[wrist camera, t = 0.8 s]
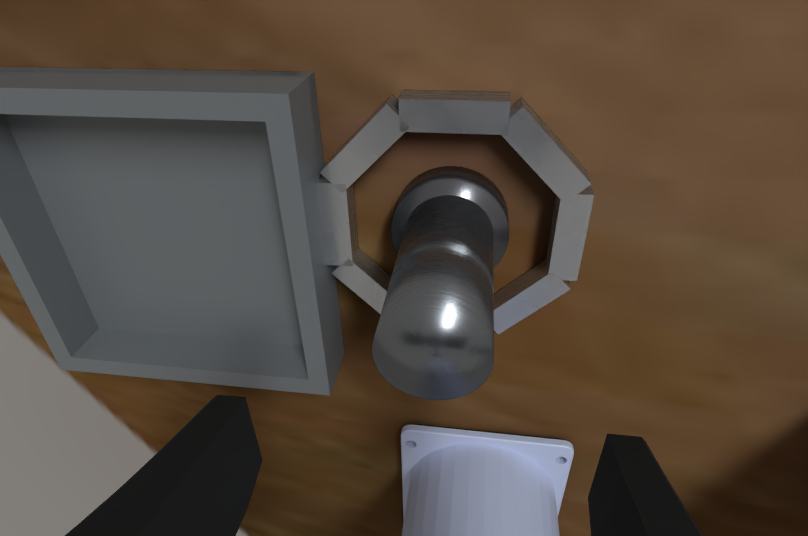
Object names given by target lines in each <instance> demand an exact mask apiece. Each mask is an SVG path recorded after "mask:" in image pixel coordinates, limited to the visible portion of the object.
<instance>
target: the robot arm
mask: <svg viewBox="0 0 808 536" xmlns="http://www.w3.org/2000/svg"><path fill="white" fill-rule="evenodd" d="M573 455H574V450H573V445H572V444H571V443H570V442H568V441H565V440H558V439H548V438H539V437H529V436H519V435H509V434H500V433H490V432H480V431H470V430H461V429H451V428H441V427H431V426H422V425H406V426H404V427H403V428H402V431H401V459H402V489H403V519H404V523H403V530H402V536H560V535H559V526H558V514H559V510H560V506H561V502H562V498H563V494H564V490H565V486H566V483H567V479H568V475H569V471H570V467H571V463H572V459H573ZM261 462H262V457H261V454H260V450H259V446H258V442H257V439H256V435H255V431H254V428H253V424H252V420H251V417H250V413H249V409H248V405H247V402H246V398H245V397H235V396H225V395H217V396H216V397H214V398H213V399H212V400H211V401H210V402H209V403H208V404H207V405H206V406H205V407H204V408H203V409H202V410H201V411H200V412H199V413H198V414H197V415H196V416H195V417H194V418H193V419H192V420H191V421H190V422H189V423H188V424H187V425H186V426H185V427H184V428H183V429H182V430H181V431H180V432H179V433H177V434H176V435H175V436H174V437H173V438H172V439H171V440H170V441H169V442H168V443H167V444H166V445H165V446H164V447H163V448H162V449H161V450H160V451H159V452H158V453H157V454H156V455H155V456H154V457H153V458H152V459H150V460H149V461H148V462H147V463H146V464H145V465H144V466H143V467H142V468H141V469H140V470H139V471H138V472H137V473H136V474H135V475H133V476H132V477H131V478H130V479H129V480H128V481H127V482H126V483H125V484H124V485H123V486H122V487H120V488H119V489H118V490H117V491H116V492H115V493H114V494H113V495H111V496H110V497H109V498H108V499H107V500H106V501H105V502H103V503H102V504H101V505H100V506H99V507H98V508H97V509H95V510H94V511H93V512H92V513H91V514H90V515H89V516H87V517H86V518H85V519H84V520H83V521H82V522H81V523H79V524H78V525H77V526H76V527H75V528H73V529H72V530H71V531H70V532H69V533H67V534H66V535H65V536H236V533H237V531H238V529H239V526H240V524H241V522H242V519H243V517H244V515H245V512H246V510H247V507H248V504H249V501H250V498H251V495H252V492H253V489H254V486H255V482H256V479H257V476H258V472H259V469H260V466H261ZM588 502H589V514H590V526H591V536H703V535H702V533H701V532H700V530H699V529H698V527H697V525H696V524H695V522H694V521H693V519H692V518H691V516H690V515H689V513H688V511H687V510H686V508H685V507H684V505H683V503H682V502H681V500H680V499H679V497H678V495H677V494H676V492H675V491H674V489H673V487H672V486H671V484H670V482H669V481H668V479H667V477H666V476H665V474H664V472H663V471H662V469H661V467H660V466H659V464H658V462H657V461H656V459H655V457H654V455H653V454H652V452H651V450H650V448H649V447H648V445H647V443H646V442H645V441H644V439H643V438H642V437H636V436H626V435H616V434H607V437H606V440H605V443H604V446H603V450H602V453H601V456H600V460H599V463H598V466H597V470H596V473H595V476H594V480H593V483H592V486H591V489H590V493H589V496H588Z"/></svg>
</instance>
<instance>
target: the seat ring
mask: <svg viewBox="0 0 808 536" xmlns="http://www.w3.org/2000/svg"><path fill="white" fill-rule="evenodd" d="M510 103H511V100H510V92H479V91H430V90H403V91H402V93H401V95H400V97H399V101H398V100H397V99H396V98H395V97H394V96H393V95H391V96H390V97H389V98H388V99H387V100H386V101H385V102H384V103H383V104H382V105H381V106H380V108H379V109H378V110H377V111H376V112H375V113H374V114H373V115H372V116H371V117H370V118H369V119H368V120H367V121H366V122H365V123H364V124H363V125H362V126H361V127H360V128H359V129H358V130H357V131H356V132H355V134H354V135H353V136H352V137H351V138H350V139H349V140H348V141H347V142H346V143H345V144H344V145H343V146H342V147H341V148H340V149H339V150H338V151H337V152H336V153H335V154H334V155H333V156H332V157H331V158H330V160H329V161H328V162H327V163H326V165H325V166H324V168H323V169H322V171H321V172H320V173H321V174H322V176H321V177H320V179H319V180H318V182H317V189H318V197H319V206H320V214H321V222H322V231H323V239H324V247H325V256H326V264H327V265H335V267H334V269H333V271H332V274H333V275H334V276H335V277H336V278H338V279H339V280H340V281H341V282H342V283H344V284H345V285H346V286H347V287H348V288H350V289H351V290H352V291H353V292H354V293H356V294H357V295H358V296H359V297H360V298H362V299H363V300H364V301H365V302H366V303H368V304H369V305H370V306H371V307H372V308H374V309H375V310H376V311H377V312H378V313H380V314H381V311H382V308H383V304H384V301H385V297H386V294H387V290H388V287H389V283H390V280H391V276H390V275H389V274H388V273H387V272H385V271H384V270H383V269H382V268H381V267H380V266H379V265H377V264H376V263H375V262H374V261H373V260H372V259H370V258H369V257H368V256H367V255H366V254H365V253H364V252H362V251H361V250H360V249H359V248H358V237H357V224H356V211H355V198H354V186H353V183H354V182H355V181H356V180H357V179H358V178H359V177H360V176H361V175H362V174H363V173H364V172H365V171H366V170H367V169H368V168H369V167H370V166H371V165H372V164H373V163H374V162H375V161H376V160H377V159H378V158H379V157H380V156H381V155H382V154H383V153H384V152H385V151H386V150H387V149H389V148H390V147H391V146H392V145H393V144H394V143H395V142H396V141H397V140H398V139H399V138H400V137H401V136H402V135H403V134H404V133H405V132H425V133H458V134H491V135H502V137H503V138H504V139H505V140H506V141H507V142H508V143H509V144H510V145H511V146H512V147H513V148H514V150H515V151H516V152H517V153H518V154H519V155H520V156H521V157H522V158H523V159H524V160H525V161H526V163H527V164H528V165H529V166H530V167H531V168H532V169H533V170H534V171H535V172H536V173H537V174H538V175H539V177H540V178H541V179H542V180H543V181H544V182H545V183H546V184H547V185H548V186H549V187H550V188H551V190H552V191H553V192H554V193H555V194H556V198H555V205H554V211H553V217H552V224H551V230H550V236H549V243H548V249H547V255H546V259H545V260H544V261H542V262H541V263H539V264H538V265H536V266H535V267H534V268H532V269H531V270H529V271H528V272H526V273H525V274H523V275H522V276H520V277H519V278H517V279H516V280H514V281H513V282H511V283H510V284H508V285H507V286H505V287H504V288H502V289H501V290H499V291H498V292H496V293H495V294H494V331H495V332H497V333H498V334H500V333H501V332H503V331H505V330H506V329H508V328H509V327H511V326H513V325H514V324H516V323H517V322H519V321H521V320H522V319H524V318H525V317H527V316H529V315H530V314H532V313H533V312H535V311H537V310H538V309H540V308H541V307H543V306H545V305H546V304H548V303H549V302H551V301H553V300H554V299H556V298H558V297H559V296H561V295H562V294H564V293H566V292H567V291H569V290H570V289H571V288H570V283H569V281H577V278H578V273H579V268H580V263H581V258H582V253H583V248H584V243H585V238H586V233H587V228H588V223H589V218H590V213H591V208H592V204H593V199H594V193H593V190H592V188H591V182H590V179H589V176H588V174H587V171H586V170H585V169H584V168H583V167H582V165H581V164H580V163H579V162H578V161H577V160H576V159H575V157H574V156H573V155H572V154H571V153H570V152H569V151H568V150H567V148H566V147H565V146H564V145H563V144H562V143H561V142H560V140H559V139H558V138H557V137H556V136H555V135H554V134H553V133H552V131H551V130H550V129H549V128H548V127H547V126H546V125H545V123H544V122H543V121H542V120H541V119H540V118H539V117H538V116H537V114H536V113H535V112H534V111H533V110H532V109H531V108H530V106H529V105H528V104H527V103H526V102H525V101H524V100H523V98H522V97H521V98H520V99H519V100H518V101H517V102H516V103H514V104H513V105H512V106H511V107H510Z"/></svg>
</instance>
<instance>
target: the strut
mask: <svg viewBox="0 0 808 536" xmlns="http://www.w3.org/2000/svg"><path fill="white" fill-rule="evenodd" d="M391 237H392V242H393V246H394V248H395V250H396V252H397V254H398V255H397V259H396V262H395V266H394V269H393V273H392V276H391V280H390V283H389V287H388V290H387V294H386V297H385V301H384V304H383V308H382V311H381V315H380V318H379V322H378V326H377V329H376V333H375V336H374V340H373V344H372V356H373V360H374V363H375V365H376V367H377V369H378V371H379V372H380V374H381V375H382V376H383V377H384V378H385V379H386V380H387V381H388V382H389V383H390V384H391V385H393V386H394V387H396V388H397V389H399V390H401V391H403V392H405V393H407V394H409V395H412V396H415V397H419V398H423V399H430V400H448V399H454V398H458V397H462V396H465V395H467V394H469V393H471V392H473V391H475V390H476V389H478V388H479V387H480V386H481V385H483V384H484V382H485V381H486V380H487V379H488V377H489V375H490V374H491V371H492V369H493V364H494V267H495V266H496V265H497V264H498V263H499V261H500V260H501V258H502V257H503V255H504V253H505V251H506V248H507V245H508V240H509V224H508V210H507V206H506V202H505V200H504V197H503V195H502V194H501V192H500V190H499V189H498V188H497V187H496V186H495V184H494V183H493V182H491V181H490V180H489V179H488V178H486V177H485V176H484V175H482V174H480V173H478V172H476V171H473V170H471V169H468V168H463V167H456V166H445V167H438V168H434V169H431V170H428V171H426V172H424V173H422V174H420V175H419V176H417V177H416V178H414V179H413V180H412V181H411V182H410V183H409V184H408V185H407V186H406V188H405V189H404V190H403V192H402V194H401V196H400V198H399V201H398V204H397V207H396V210H395V213H394V216H393V219H392V224H391Z"/></svg>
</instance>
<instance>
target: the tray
mask: <svg viewBox="0 0 808 536" xmlns="http://www.w3.org/2000/svg"><path fill="white" fill-rule="evenodd" d="M323 168H324V160H323V151H322V142H321V133H320V124H319V115H318V105H317V96H316V87H315V78H314V72H281V71H220V70H158V69H96V68H34V67H0V254H1V256H2V258H3V260H4V262H5V264H6V266H7V268H8V270H9V271H10V273H11V275H12V277H13V279H14V281H15V283H16V285H17V287H18V288H19V290H20V292H21V294H22V296H23V298H24V300H25V302H26V304H27V306H28V307H29V309H30V311H31V313H32V315H33V317H34V319H35V321H36V323H37V325H38V326H39V328H40V330H41V332H42V334H43V336H44V338H45V340H46V342H47V343H48V345H49V347H50V349H51V351H52V353H53V355H54V357H55V359H56V361H57V362H58V364H59V366H60V368H61V369H62V370H72V371H82V372H93V373H103V374H113V375H123V376H134V377H144V378H154V379H164V380H175V381H185V382H195V383H205V384H216V385H226V386H236V387H246V388H257V389H267V390H277V391H288V392H298V393H308V394H318V395H329V396H330V395H331V392H332V389H333V386H334V383H335V380H336V377H337V374H338V371H339V368H340V365H341V362H342V359H343V357H344V354H345V352H344V343H343V334H342V325H341V316H340V306H339V297H338V288H337V279H336V277H335V276H334V275H333V274H332V271H333V269H334V267H335V265H327V264H326V256H325V247H324V239H323V231H322V222H321V214H320V206H319V197H318V189H317V182H318V180H319V179H320V177H321V176H322V174H321V173H320V172H321V171H322V169H323Z"/></svg>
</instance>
